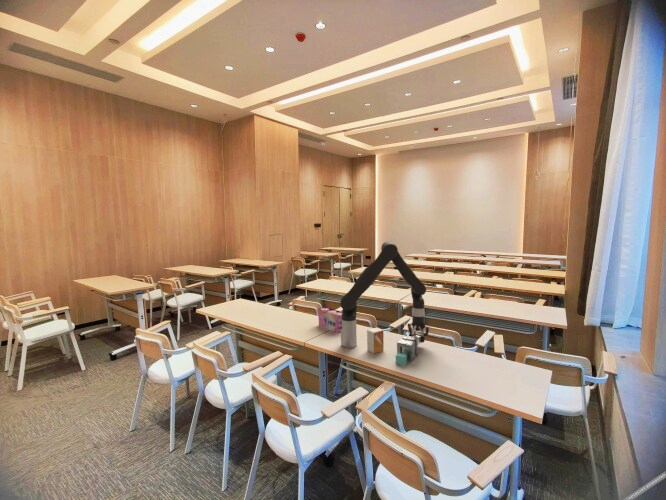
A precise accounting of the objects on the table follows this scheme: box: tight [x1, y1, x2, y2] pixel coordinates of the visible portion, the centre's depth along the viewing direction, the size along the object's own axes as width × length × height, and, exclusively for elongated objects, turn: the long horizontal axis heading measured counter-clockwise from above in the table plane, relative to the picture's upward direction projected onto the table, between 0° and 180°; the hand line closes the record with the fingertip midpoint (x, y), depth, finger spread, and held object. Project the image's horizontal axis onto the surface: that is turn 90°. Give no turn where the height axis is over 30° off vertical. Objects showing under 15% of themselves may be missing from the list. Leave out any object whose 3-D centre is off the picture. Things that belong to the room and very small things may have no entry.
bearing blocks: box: [396, 336, 419, 363], centre depth 178 cm, size 9×10×10 cm
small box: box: [366, 327, 385, 354], centre depth 188 cm, size 8×6×13 cm
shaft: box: [402, 332, 423, 354], centre depth 185 cm, size 5×24×5 cm, turn 146°
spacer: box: [395, 352, 408, 367], centre depth 171 cm, size 5×5×4 cm
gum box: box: [317, 306, 342, 333], centre depth 232 cm, size 24×8×14 cm, turn 38°
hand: (418, 340), depth 194 cm, fingers closed on shaft, 5 cm apart
